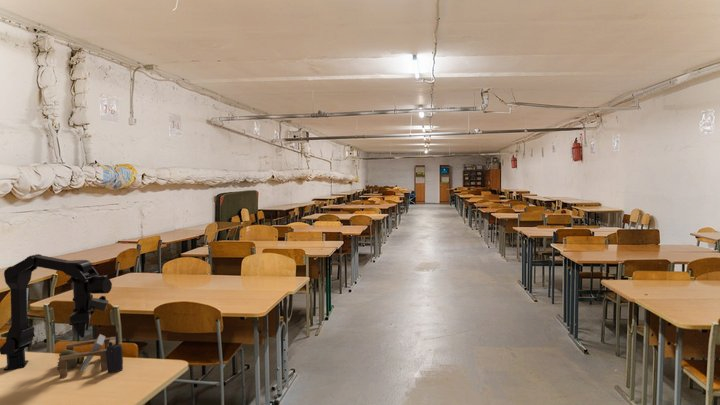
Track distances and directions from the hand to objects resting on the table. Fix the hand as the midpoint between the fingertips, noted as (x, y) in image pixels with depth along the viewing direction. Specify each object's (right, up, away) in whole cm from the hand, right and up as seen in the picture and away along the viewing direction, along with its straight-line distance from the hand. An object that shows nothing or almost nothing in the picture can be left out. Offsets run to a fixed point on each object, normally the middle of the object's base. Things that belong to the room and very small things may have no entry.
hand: (84, 333), depth 171 cm
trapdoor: (+3, -8, +2) cm, 9 cm away
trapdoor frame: (+2, -13, +1) cm, 13 cm away
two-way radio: (+15, -13, -5) cm, 20 cm away
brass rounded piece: (-1, -10, +1) cm, 11 cm away
